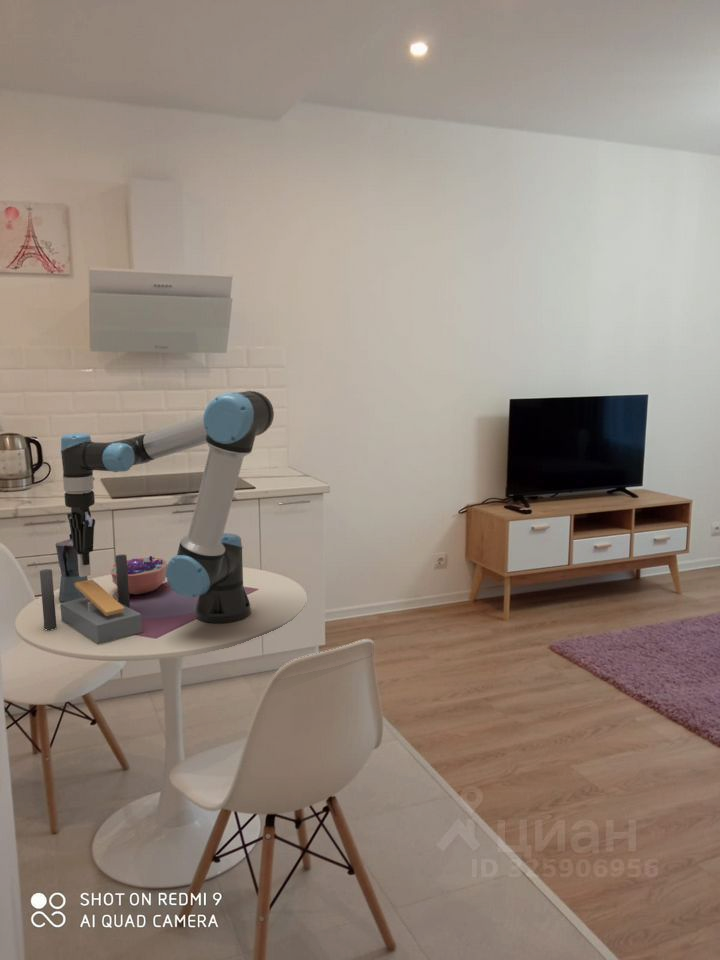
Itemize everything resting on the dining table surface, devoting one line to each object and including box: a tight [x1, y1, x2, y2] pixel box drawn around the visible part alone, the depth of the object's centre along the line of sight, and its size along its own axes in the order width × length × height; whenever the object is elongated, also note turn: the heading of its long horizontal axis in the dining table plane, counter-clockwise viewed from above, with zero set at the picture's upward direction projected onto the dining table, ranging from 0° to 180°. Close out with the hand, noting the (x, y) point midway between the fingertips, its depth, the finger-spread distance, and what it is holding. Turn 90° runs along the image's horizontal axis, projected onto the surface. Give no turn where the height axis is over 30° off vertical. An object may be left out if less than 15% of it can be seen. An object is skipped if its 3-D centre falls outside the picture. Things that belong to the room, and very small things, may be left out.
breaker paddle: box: [75, 578, 125, 616], centre depth 201 cm, size 20×5×1 cm, turn 43°
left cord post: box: [39, 568, 58, 631], centre depth 200 cm, size 3×3×16 cm
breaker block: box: [59, 597, 143, 645], centre depth 202 cm, size 24×12×7 cm, turn 43°
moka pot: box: [55, 533, 89, 603], centre depth 223 cm, size 10×15×20 cm, turn 10°
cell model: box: [110, 555, 168, 596], centre depth 231 cm, size 17×20×11 cm
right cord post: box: [115, 554, 131, 608], centre depth 214 cm, size 3×3×16 cm
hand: (84, 575), depth 206 cm, fingers closed
